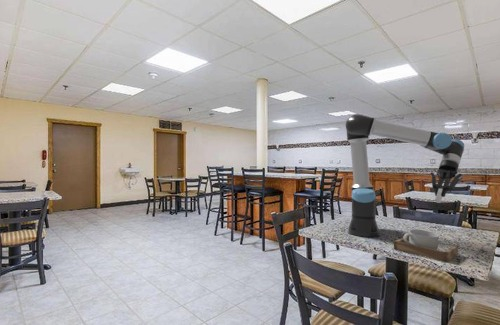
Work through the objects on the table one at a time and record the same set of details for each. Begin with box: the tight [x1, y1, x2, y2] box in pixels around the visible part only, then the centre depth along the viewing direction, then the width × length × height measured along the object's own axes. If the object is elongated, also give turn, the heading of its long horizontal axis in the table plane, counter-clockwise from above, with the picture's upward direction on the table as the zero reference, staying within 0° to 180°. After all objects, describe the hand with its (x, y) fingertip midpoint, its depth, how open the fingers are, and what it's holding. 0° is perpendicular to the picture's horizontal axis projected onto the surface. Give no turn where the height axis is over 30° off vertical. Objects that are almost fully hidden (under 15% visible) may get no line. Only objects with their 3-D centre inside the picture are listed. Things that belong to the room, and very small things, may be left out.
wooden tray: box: [393, 236, 459, 263], centre depth 112 cm, size 13×19×4 cm
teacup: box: [402, 228, 440, 250], centre depth 114 cm, size 14×11×8 cm
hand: (437, 201), depth 124 cm, fingers closed
